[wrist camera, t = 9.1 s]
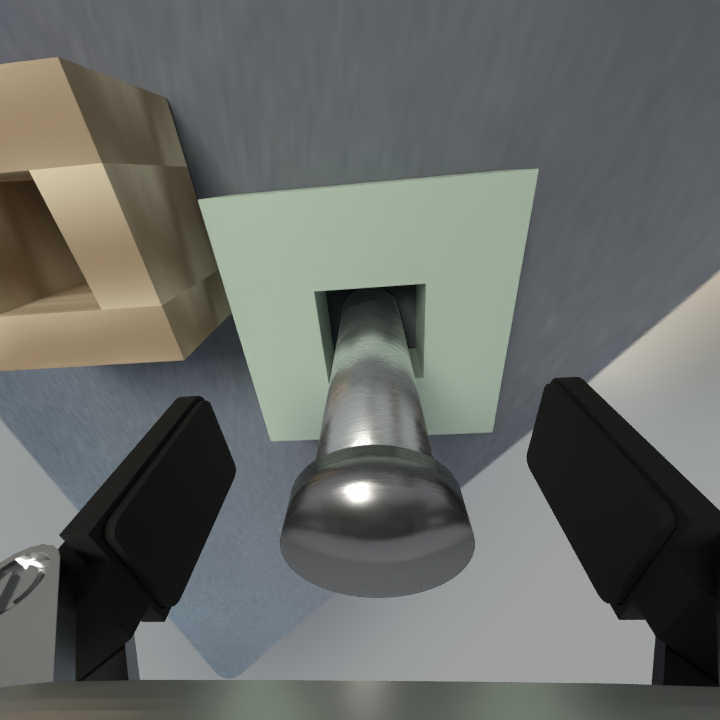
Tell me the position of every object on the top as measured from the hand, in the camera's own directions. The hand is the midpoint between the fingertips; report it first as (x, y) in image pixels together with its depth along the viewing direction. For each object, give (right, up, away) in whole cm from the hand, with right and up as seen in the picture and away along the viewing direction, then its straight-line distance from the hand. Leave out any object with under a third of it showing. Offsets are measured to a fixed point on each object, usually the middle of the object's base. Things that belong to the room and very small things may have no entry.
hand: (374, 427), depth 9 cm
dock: (0, +4, +8) cm, 9 cm away
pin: (0, +4, +8) cm, 9 cm away
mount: (-12, +8, +6) cm, 16 cm away
